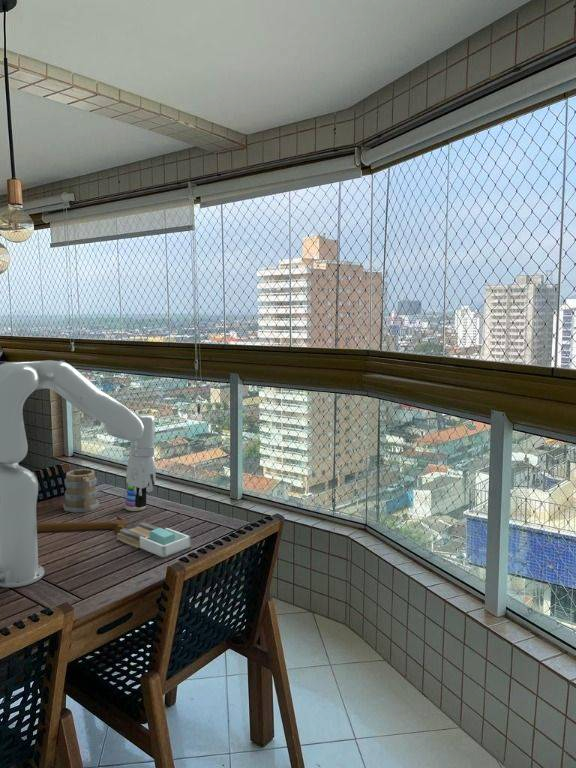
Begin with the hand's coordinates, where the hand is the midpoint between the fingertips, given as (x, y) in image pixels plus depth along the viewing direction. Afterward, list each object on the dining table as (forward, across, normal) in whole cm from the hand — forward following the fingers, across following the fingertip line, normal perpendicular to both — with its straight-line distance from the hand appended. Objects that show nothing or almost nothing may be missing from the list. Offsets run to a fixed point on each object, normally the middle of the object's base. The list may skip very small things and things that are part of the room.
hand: (140, 506), depth 182 cm
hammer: (+12, -24, -6) cm, 28 cm away
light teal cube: (+11, +12, +2) cm, 16 cm away
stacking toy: (+11, -28, +19) cm, 35 cm away
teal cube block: (+11, +8, +2) cm, 13 cm away
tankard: (+12, -42, +5) cm, 44 cm away
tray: (+11, +11, +2) cm, 16 cm away
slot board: (+11, -1, +2) cm, 12 cm away
